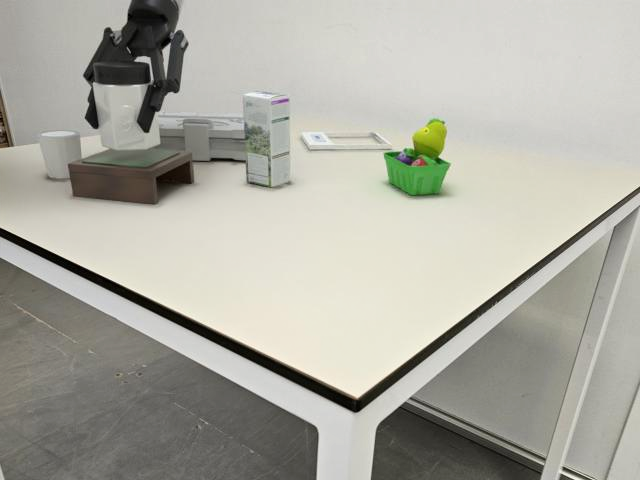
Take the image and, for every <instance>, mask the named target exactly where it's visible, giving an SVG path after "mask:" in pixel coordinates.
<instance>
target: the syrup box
mask: <svg viewBox="0 0 640 480" xmlns="http://www.w3.org/2000/svg"><path fill="white" fill-rule="evenodd" d="M242 109H243V114H244V134H245V158H246V160H245V178H246V179H245V180H246V183H249V184H254V185H259V186H264V187H268V188H275V187H278V186H281V185H285V184H288V183H289V182H291V180H292V178H291V176H292V175H291V95H290V94H289V93H282V92H273V91H263V90H261V91H260V90H257V91H256V90H255V91H250V92H247V93H244V94H242Z"/></svg>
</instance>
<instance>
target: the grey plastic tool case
mask: <svg viewBox="0 0 640 480" xmlns="http://www.w3.org/2000/svg"><path fill="white" fill-rule="evenodd" d="M158 123H159V133H160V145H157V146H155V147H152V148H150V149H158V150H170V151H182V152H192V160H193V161H202V162H203V161H204V162H205V161H206V162H207V161H208V162H210V161H211V159H233V160H235V161H246V158H245V134H244V113H227V112H225V114H210V113H209V114H207V113H206V114H205V113H199V112H192V111H177V113H176V112H175V113H173V112H172V113H169V112H166V111H165V110H160V111H159V112H158Z"/></svg>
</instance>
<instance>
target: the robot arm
mask: <svg viewBox="0 0 640 480" xmlns="http://www.w3.org/2000/svg"><path fill="white" fill-rule="evenodd" d="M184 4H185V0H130V3H129V5H128V8H127V15H126V16H127V17H126V22H125V24H124V25H123V26H122V28H121V29H120V30H113V29H112V28H111V27H110V26H108V27H105V28H104V30H103V34H102V40H101V41H100V43H99V45H98V47H97V49H96V50H95V51H94V54H93V55H92V57H91V59H90V61H89V63H88V65H87V67H86V68H85V70H84V72H83V73H82V77H83V78H84V80H85V81H86V82H87V84H88V85H89V87H90V90H89V93H88V96H87V103H88V107H87V109H86V112H85V115H84V119H85V121H86V122H87V123H88V125H90V126H91V128H92V129H93V130H99V124H98V117H97V110H96V103H95V97H94V90H93V82H95V75H94V69H93V64H94V63H97V62H107V61H135V62H136V61H137V59H138V58H141V57H146V58H149V60H150V66H151V67H150V68H151V73H152V78H153V79H151V82H153V83H154V85H155V88H154V86H153V85H148V88H147V91H146V94H145V97H144V100H143V103H142V106H141V109H140V112H139V115H138V118H137V121H136V122H137V123H138V125H139V126H140V127H141V129H142V130H143V132H144V133H149V131H150V128H151V125H152V122H153V119H154V115H155V112H157V113H159V112H161V111H162V107H163V104H164V101H165V97H166V96H167V95H168V94H171V93H173V94H179V92H180V91H181V84H182V83H181V82H182V74H183V65H184V59H185V58H184V57H185V53H186V51H187V49H188V46H189V41H188V38H187V36H186V35H185V33H184V31H183V30H182V29H178V30H176V29H177V26H178V23H179V19H180V15H181V13H182V11H183V10H182V9H183V6H184ZM168 46H169V54H168V60H167V68H166V69H167V70H166V69H165V65H164V62H165V59H164V52H163V50H164V49H165V48H167V47H168ZM165 70H166V71H165Z"/></svg>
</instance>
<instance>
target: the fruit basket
mask: <svg viewBox="0 0 640 480" xmlns="http://www.w3.org/2000/svg"><path fill="white" fill-rule="evenodd" d="M445 124H446V122H445V121H444V120H440V119H439V118H436V117H434V118H431V119H430V120H429V121H428V122H427V124H426V125H425V126H424V127H422V128H420V129H418V130H417V131H415V132H414V133H413V135H412V138H411V139H412V144H413V148H411V147H410V148H408V147H405V148H403V150H401V151H400V150H399V151H398V150H397V151H386V152H383V158H384V160H385V161H384V162H385V165H386V171H387V176H388V182H389V183H390V184H391V185H394V186H395V187H397V188H399V189H401V190H402V191H403V192H405V193H407V194H408V195H410V196H417V195H418V196H422V195H431V194H433V195H435V194H437V195H438V194H439V193H440V190H441V188H442V185H443V182H444V181H445V178H446V175H447V172H448V171H449V169H450V167H451V166H452V164H451V162H449V161H446V160H445V159H443V158H441V157H440V156H441V155H442V153H443V151H444V149H445V145H446V138H447V134H448V130H447V127H446V125H445Z"/></svg>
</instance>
